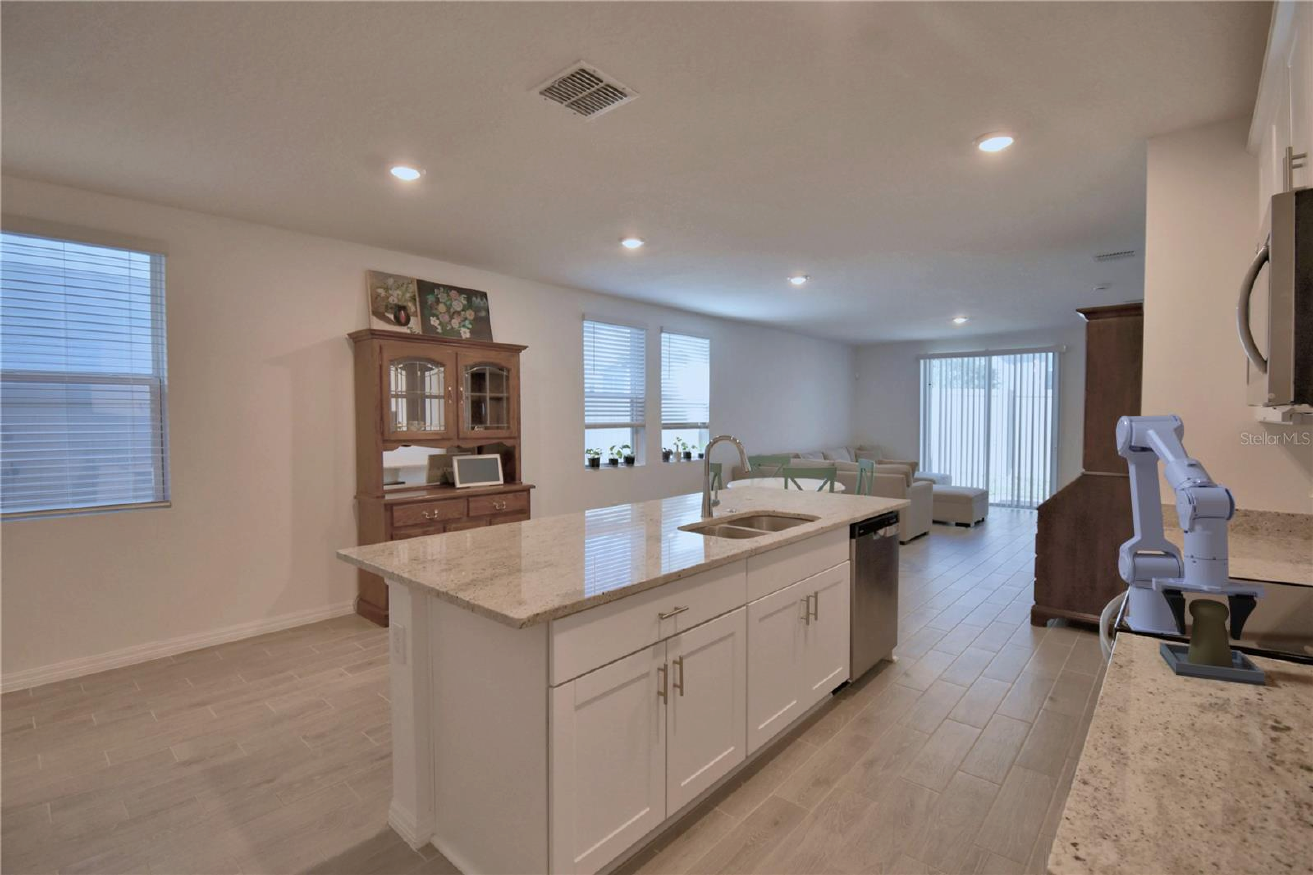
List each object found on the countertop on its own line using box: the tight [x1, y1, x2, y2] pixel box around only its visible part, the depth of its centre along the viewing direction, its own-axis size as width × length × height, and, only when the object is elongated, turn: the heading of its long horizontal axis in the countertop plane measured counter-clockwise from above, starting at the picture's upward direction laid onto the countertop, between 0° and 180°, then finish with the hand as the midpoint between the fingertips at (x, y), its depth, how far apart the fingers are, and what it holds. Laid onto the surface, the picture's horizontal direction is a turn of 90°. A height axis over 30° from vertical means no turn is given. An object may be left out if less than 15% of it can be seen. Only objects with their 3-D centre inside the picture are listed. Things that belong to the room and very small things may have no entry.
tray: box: [1159, 642, 1266, 687], centre depth 106 cm, size 11×11×2 cm
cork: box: [1187, 598, 1234, 668], centre depth 107 cm, size 6×6×11 cm
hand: (1207, 635), depth 106 cm, fingers open, 6 cm apart
